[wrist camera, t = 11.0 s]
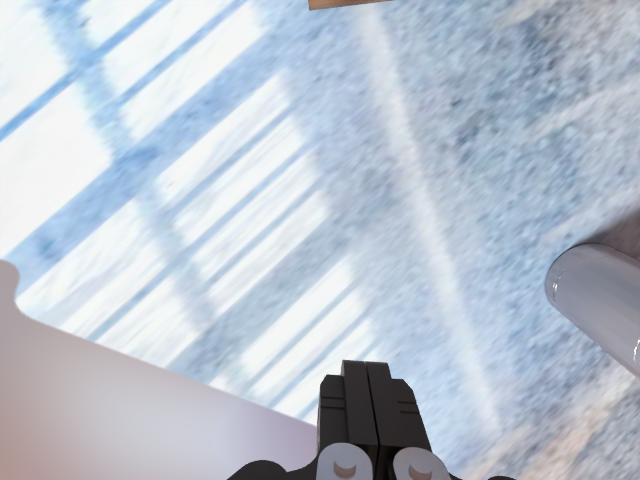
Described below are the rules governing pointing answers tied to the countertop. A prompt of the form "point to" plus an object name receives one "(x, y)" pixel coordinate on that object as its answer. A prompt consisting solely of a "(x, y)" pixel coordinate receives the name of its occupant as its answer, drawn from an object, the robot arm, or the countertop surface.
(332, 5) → the brown wooden base
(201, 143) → the countertop surface
